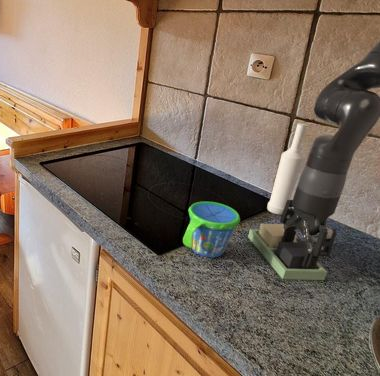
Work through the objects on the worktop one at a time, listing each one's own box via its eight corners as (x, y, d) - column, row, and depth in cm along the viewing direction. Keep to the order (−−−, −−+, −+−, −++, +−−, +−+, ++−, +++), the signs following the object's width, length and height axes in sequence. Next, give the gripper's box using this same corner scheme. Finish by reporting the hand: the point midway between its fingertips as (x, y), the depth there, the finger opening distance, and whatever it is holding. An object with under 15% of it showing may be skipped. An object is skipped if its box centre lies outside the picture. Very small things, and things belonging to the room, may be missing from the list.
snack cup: (197, 270, 87) (206, 230, 83) (164, 246, 96) (171, 208, 92) (248, 253, 94) (258, 215, 89) (212, 232, 102) (221, 196, 98)
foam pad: (280, 238, 99) (284, 224, 97) (292, 251, 94) (297, 236, 92) (257, 237, 99) (261, 223, 97) (268, 250, 94) (272, 235, 92)
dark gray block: (299, 257, 91) (304, 242, 90) (313, 272, 86) (319, 256, 85) (274, 256, 91) (278, 241, 90) (287, 271, 86) (292, 256, 85)
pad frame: (283, 237, 100) (285, 230, 99) (324, 280, 85) (327, 271, 84) (247, 236, 100) (249, 229, 100) (282, 279, 85) (285, 270, 84)
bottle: (263, 205, 116) (286, 121, 105) (281, 206, 116) (307, 121, 105) (271, 214, 111) (297, 126, 101) (290, 215, 111) (318, 127, 101)
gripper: (362, 205, 75) (334, 276, 81) (316, 174, 87) (295, 238, 94) (321, 204, 75) (296, 275, 81) (282, 173, 88) (263, 237, 94)
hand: (296, 255), depth 88 cm, fingers open, 8 cm apart
